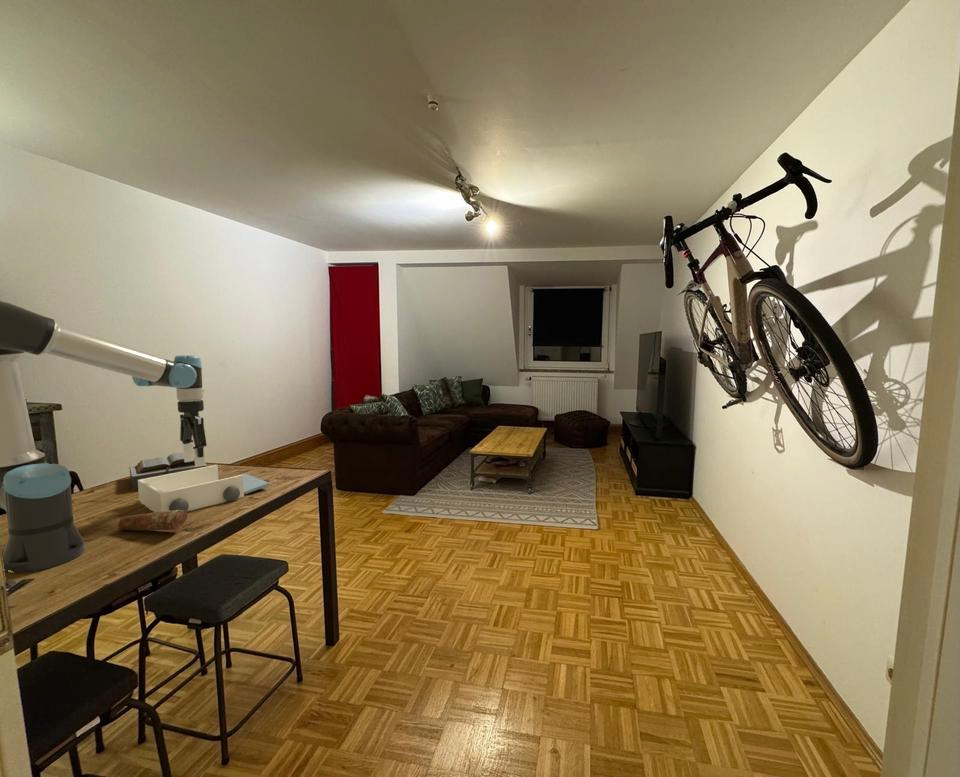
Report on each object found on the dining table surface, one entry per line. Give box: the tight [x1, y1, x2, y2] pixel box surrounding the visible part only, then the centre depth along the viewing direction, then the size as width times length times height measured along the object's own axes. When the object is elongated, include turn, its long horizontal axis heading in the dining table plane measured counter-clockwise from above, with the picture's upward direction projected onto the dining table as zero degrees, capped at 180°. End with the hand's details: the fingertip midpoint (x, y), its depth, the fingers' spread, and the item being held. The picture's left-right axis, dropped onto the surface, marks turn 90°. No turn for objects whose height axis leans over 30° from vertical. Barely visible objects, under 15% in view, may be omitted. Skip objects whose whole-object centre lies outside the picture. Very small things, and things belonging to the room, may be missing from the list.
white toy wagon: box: [137, 464, 245, 513], centre depth 154 cm, size 25×25×8 cm
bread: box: [117, 510, 188, 531], centre depth 128 cm, size 6×19×6 cm, turn 86°
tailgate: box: [237, 473, 270, 495], centre depth 168 cm, size 1×20×10 cm
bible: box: [129, 451, 208, 491], centre depth 176 cm, size 23×27×10 cm
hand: (194, 463), depth 154 cm, fingers open, 9 cm apart
